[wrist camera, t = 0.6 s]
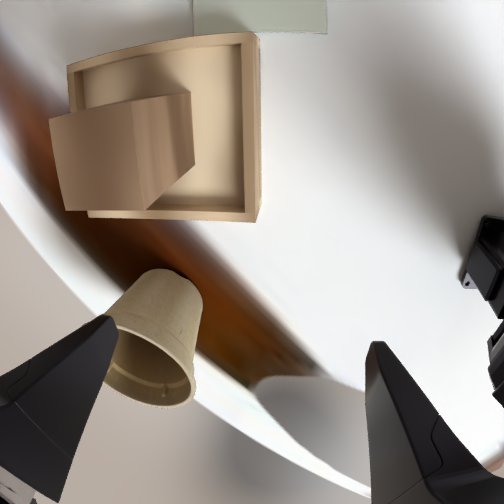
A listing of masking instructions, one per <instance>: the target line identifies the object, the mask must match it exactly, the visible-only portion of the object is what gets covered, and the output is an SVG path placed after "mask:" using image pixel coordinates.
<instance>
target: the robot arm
mask: <svg viewBox="0 0 504 504" xmlns="http://www.w3.org/2000/svg"><path fill="white" fill-rule="evenodd" d="M487 221H488V223H487V224H485V223H486V222H487ZM467 281H468V282H467ZM466 282H467V283H466ZM461 285H462V286H463V288H465V289H478V290H479V291H480V293H481V295H482V296H483V298H484V300H485V301H488V302H489V304H490V306H491V308H492V309H493V311H494V313H495V314H496V316H497V318H498V319H503V321H502V323H501V324H500V326H499V327H498V329H497V330H496V332H495V333H494V334H493V336H491V337H490V338H489V340H488V341H487V344H488V351H489V359H490V365H489V367H488V372H489V376H490V380H491V382H492V385H493V387H494V390H495V391H494V392H493V393H492V395H493V397H494V398H495V399H496V400H497V401H498V402H499V403H500V404H501V405H502V406H503V408H504V218H501V217H495V216H488V215H486V216H484V217H483V218H482V219H481V222H480V226H479V229H478V233H477V236H476V239H475V242H474V245H473V248H472V251H471V254H470V257H469V260H468V263H467V266H466V269H465V272H464V275H463V277H462V280H461ZM118 338H119V332H118V329H117V326H116V324H115V321H114V319H113V317H112V316H109V315H104V314H103V315H100V316H98V317H97V318H95V319H94V320H92V321H90V322H89V323H87V324H85V325H84V326H82V327H80V328H79V329H77V330H76V331H74V332H72V333H71V334H69V335H68V336H66V337H64V338H63V339H61V340H59V341H58V342H56V343H55V344H53V345H51V346H50V347H48V348H47V349H45V350H43V351H42V352H40V353H39V354H37V355H36V356H34V357H32V359H29V360H28V361H26V362H24V363H23V364H21V365H20V366H18V367H16V368H15V369H13V370H11V371H9V372H7V373H6V374H4V375H2V376H0V504H37V503H36V500H35V499H34V498H33V496H34V494H35V492H36V491H38V492H40V493H41V494H43V495H44V496H46V497H48V498H50V499H51V500H53V501H55V502H57V503H58V502H59V500H60V498H61V494H62V491H63V488H64V485H65V482H66V479H67V476H68V473H69V470H70V467H71V464H72V461H73V458H74V455H75V452H76V449H77V447H78V444H79V441H80V439H81V436H82V433H83V431H84V428H85V425H86V423H87V420H88V417H89V415H90V412H91V410H92V408H93V405H94V403H95V400H96V398H97V395H98V393H99V391H100V388H101V386H102V383H103V381H104V379H105V376H106V374H107V371H108V369H109V366H110V363H111V359H112V356H113V353H114V350H115V347H116V344H117V341H118ZM365 406H366V418H367V429H368V441H369V455H370V472H371V500H372V504H504V478H501V477H498V476H495V475H493V474H491V473H490V472H488V471H487V470H486V469H485V468H484V467H483V466H482V465H481V464H480V463H479V462H478V461H477V459H476V458H475V457H474V456H473V455H472V454H471V453H470V452H469V450H468V449H467V448H466V447H465V446H464V445H463V444H462V443H461V441H460V440H459V439H458V438H457V437H456V435H455V434H454V433H453V432H452V430H451V429H450V428H449V426H448V425H447V424H446V423H445V421H444V420H443V418H442V417H441V416H440V415H439V413H438V412H437V410H436V409H435V407H434V406H433V405H432V403H431V402H430V401H429V399H428V398H427V397H426V395H425V394H424V393H423V391H422V390H421V388H420V387H419V386H418V384H417V383H416V382H415V380H414V379H413V378H412V376H411V375H410V374H409V373H408V371H407V370H406V369H405V367H404V366H403V365H402V363H401V362H400V361H399V359H398V358H397V357H396V356H395V354H394V353H393V352H392V350H391V349H390V348H389V347H388V345H387V344H386V343H385V342H384V341H372V343H371V344H370V348H369V351H368V354H367V357H366V362H365Z"/></svg>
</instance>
